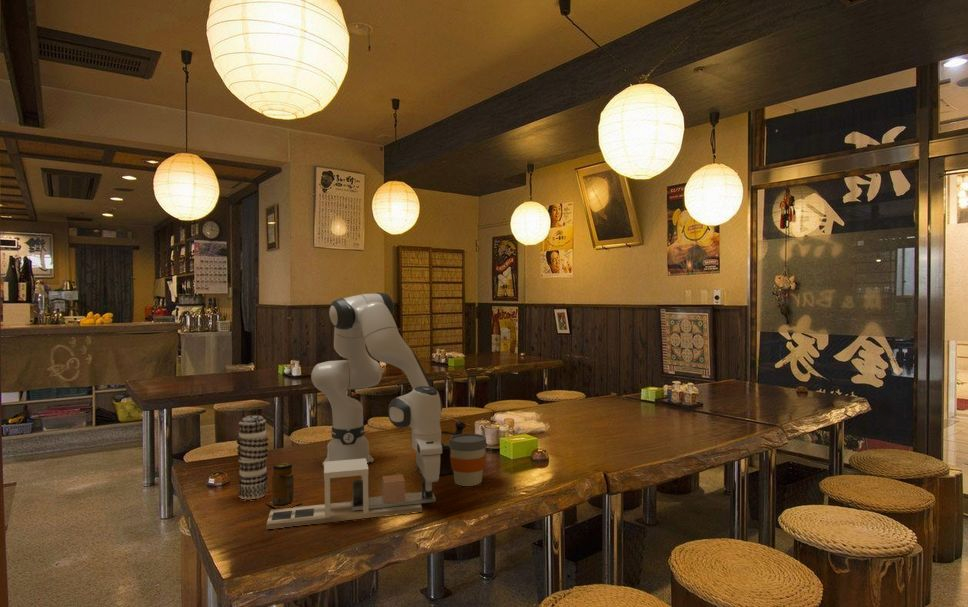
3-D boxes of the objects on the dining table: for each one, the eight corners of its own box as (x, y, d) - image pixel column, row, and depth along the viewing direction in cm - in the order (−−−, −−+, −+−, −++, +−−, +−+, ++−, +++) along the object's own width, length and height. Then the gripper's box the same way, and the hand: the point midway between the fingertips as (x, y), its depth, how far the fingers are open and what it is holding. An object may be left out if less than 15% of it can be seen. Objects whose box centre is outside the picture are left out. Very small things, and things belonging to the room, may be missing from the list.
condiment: (288, 498, 173) (287, 459, 172) (302, 505, 167) (301, 465, 167) (265, 504, 167) (265, 465, 167) (279, 511, 161) (278, 470, 161)
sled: (351, 502, 163) (351, 478, 163) (431, 494, 169) (431, 471, 169) (352, 510, 156) (351, 486, 156) (435, 501, 163) (435, 477, 163)
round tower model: (232, 495, 175) (231, 417, 175) (261, 488, 181) (260, 412, 181) (244, 503, 168) (242, 421, 168) (273, 495, 175) (272, 416, 175)
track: (270, 515, 159) (270, 509, 159) (416, 499, 170) (416, 494, 170) (266, 530, 148) (266, 524, 148) (422, 512, 160) (422, 507, 160)
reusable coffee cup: (466, 474, 194) (466, 431, 194) (494, 481, 186) (494, 436, 186) (441, 483, 184) (441, 438, 184) (470, 491, 176) (469, 444, 176)
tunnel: (325, 504, 163) (324, 461, 163) (366, 499, 166) (366, 458, 166) (324, 518, 152) (323, 472, 152) (369, 513, 156) (368, 468, 155)
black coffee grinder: (427, 478, 190) (426, 426, 190) (416, 470, 200) (415, 420, 200) (468, 472, 197) (467, 421, 197) (455, 463, 207) (455, 415, 206)
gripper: (411, 434, 175) (411, 478, 175) (421, 451, 155) (421, 500, 155) (431, 432, 176) (431, 476, 176) (443, 449, 157) (444, 498, 157)
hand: (427, 487), depth 165 cm, fingers closed on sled, 3 cm apart
